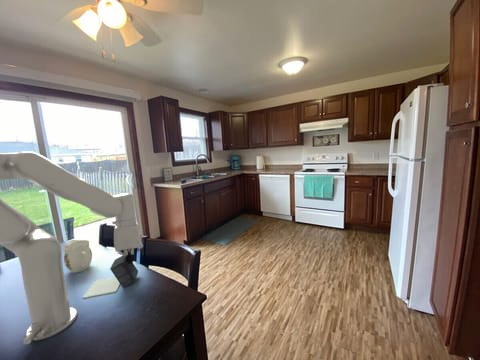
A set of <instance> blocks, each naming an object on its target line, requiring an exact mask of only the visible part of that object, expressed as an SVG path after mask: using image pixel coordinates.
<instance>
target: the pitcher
mask: <svg viewBox="0 0 480 360" xmlns="http://www.w3.org/2000/svg"><path fill="white" fill-rule="evenodd" d="M62 250H63V251H64V257H63V260H64V264H65V266H66V268H67V270H68V271H70V272H71V273H72V274H77V273H81V272H84V271H86V270H87V269H89V267H90V265H91V263H92V258H93V252H92V249H91V248H90V240H86V239H82V240H80V239H78V240H76V239H71V240H69V241H68V242H67V243H66V244H65V245H63V247H62Z"/></svg>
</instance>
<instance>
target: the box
mask: <svg viewBox="0 0 480 360" xmlns="http://www.w3.org/2000/svg"><path fill="white" fill-rule="evenodd" d="M109 269H110V271H111V272H112V273H113V275H114V277H116V278H117V280H118V281H119V283H120V286H121V287H122V288H126V287H127V286H128V285H130V284H132V283H134V282H135V281H136V280H137V277H138V273H139V270H138V268H137V267H136V265H135V264H134V262H133V263H132V264H131V263H130V264H128V262H127V259H126V255H125V254H123V255H121V256H120V257H117V258H116V259H114V260H113V262H112V264H111V266H110V268H109Z"/></svg>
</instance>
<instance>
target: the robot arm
mask: <svg viewBox="0 0 480 360" xmlns="http://www.w3.org/2000/svg"><path fill="white" fill-rule="evenodd" d="M15 179H23V180H25V181H27V182H29V183H31V184H33V185H34V186H37V187H39V188H41V189H43V190H45V191H47V192H49V193H51V194H52V195H55V196H57V197H59V198H61V199H63V200H67V201H70V202H72V203H76V204H78V205H81V206H83V207H85V208H87V209H89V210H90V212H91V213H92V214H94V215H96V216H100V217H104V218H108V219H109V218H110V219H112V218H115V220H113V221H112V225H115V226H114V229H113V245H114V247H113V248H114V250H115V252H117V253H122V254H123V255H126V259H127V262H128V264H130V263H131V264H132V263H133V264H134V261H136V254H135V252H137V251H138V250H140V249H143V247H144V245H143V238H142V232H141V228H140V224H139V223H138V222H137V217H136V207H135V199H134V198H135V197H134V195H133V194H132V193H127V192H126V193H118V194H115V195H111V194H110V193H109V192H107V191H105V190H103V189H101V188H100V187H98V186H96V185H94V184H92V183H90V182H88V181H87V180H85V179H83V178H81V177H79V176H77V175H76V174H74V173H72V172H70V171H69V170H67V169H65V168H64V167H62V166H60V165H58V164H57V163H55V162H54V161H52V160H50V159H48V158H47V157H45V156H43V155H41V154H39V153H37V152H35V151H29V150H28V151H27V150H26V151H20V152H7V153H5V152H4V153H3V152H2V153H1V152H0V181H6V180H15ZM0 246H2V247H4V248H5V249H7V250H8V251H10V252H12V253H13V254H14V255H16V257H17V258H18V261H19V263H20V270H21V277H22V283H23V287H24V292H25V297H26V301H27V307H28V311H29V317H30V322H31V324H30V326H29V327H28V328H27V330H26V332H25V333H26V337H25V338H24V339H23V340H22V342H23V344H24V345H30V344H31V342H33V341H40V340H41V341H42V340H44V339H47V338H50V337H53V336H55V335H57V334H58V333H60V332H62V331H63V330H66V328H68V327H69V326H70V325H72V324H73V322H74V321H75V320H76V319H77V315H78V312H77V309H75V308H74V307H71V306H70V301H69V294H68V288H67V282H66V277H65V271H64V265H63V247H62V245H61V243H60V241H59V240H58V238H57V237H55V236H54V235H52V234H51V233H48V232H47V231H46V230H44V229H43V228H41V227H40V226H38V224H36V223H35V222H33V220H31V219H29V217H28V216H27V215H25V214H24V213H23V212H22V211H19V210H17V209H15V208H14V207H13V206H11V205H10V204H9V203H7V202H6V201H5V200H3V199H2V198H1V197H0Z"/></svg>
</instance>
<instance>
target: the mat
mask: <svg viewBox="0 0 480 360" xmlns="http://www.w3.org/2000/svg"><path fill="white" fill-rule="evenodd" d="M120 286H121V284H120V283H119V281H118V280H117V278H116V277H115V276H112V277H106V278H100V279H95V280H94V281H93V283H92V284H91V286H89V289H87V291H86V292H85V293H84V294H83V296H82V299H88V298H93V297H99V296H104V295H108V294H114V293H117V291H118V289H119V287H120Z"/></svg>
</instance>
